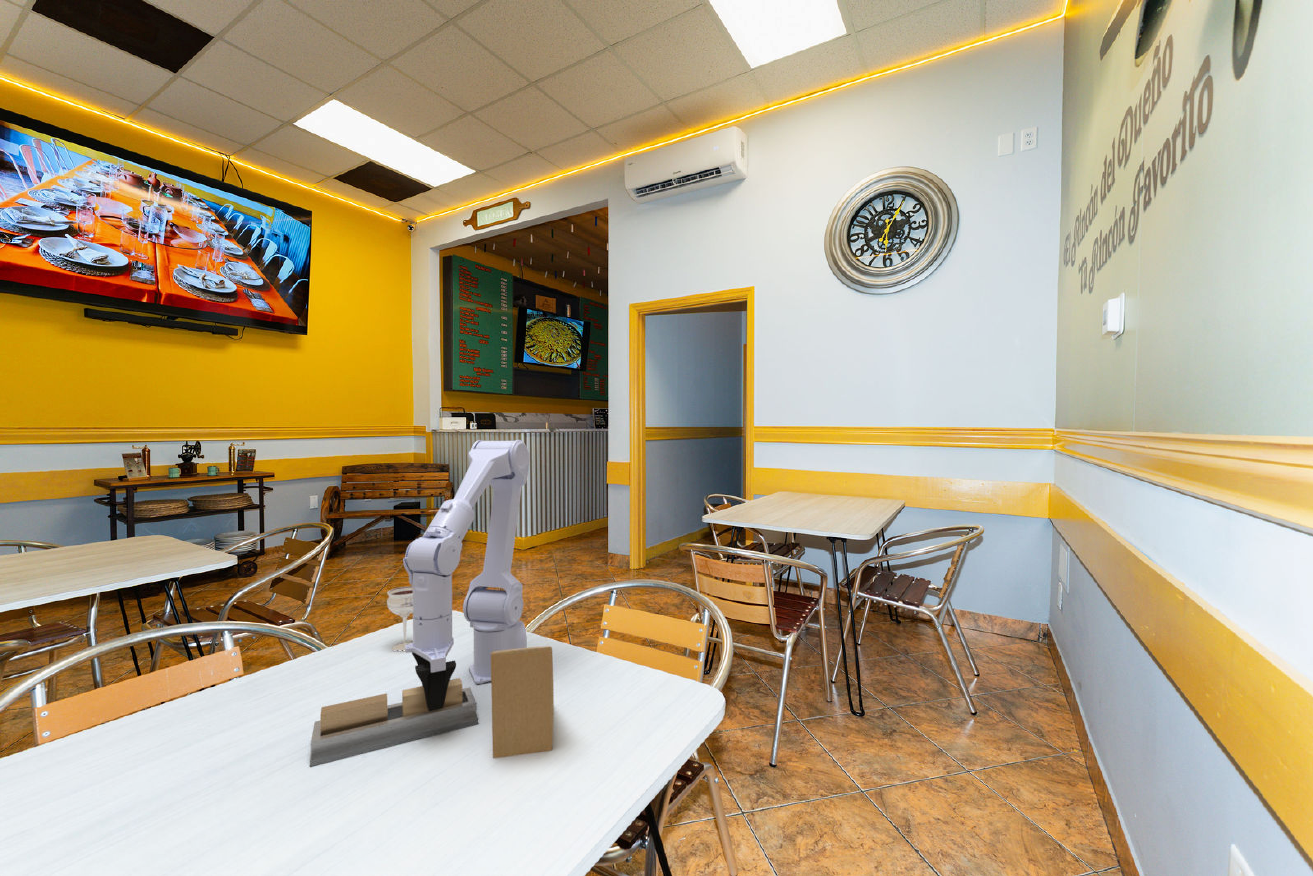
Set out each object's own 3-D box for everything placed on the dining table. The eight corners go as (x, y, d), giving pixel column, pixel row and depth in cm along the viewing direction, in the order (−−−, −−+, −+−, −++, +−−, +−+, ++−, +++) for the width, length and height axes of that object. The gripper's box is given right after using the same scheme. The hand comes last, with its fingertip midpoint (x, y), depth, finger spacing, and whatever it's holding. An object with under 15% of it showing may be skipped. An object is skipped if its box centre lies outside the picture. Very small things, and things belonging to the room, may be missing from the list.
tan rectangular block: (460, 705, 87) (459, 678, 87) (462, 712, 85) (462, 684, 85) (402, 719, 83) (402, 690, 83) (403, 726, 81) (403, 696, 81)
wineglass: (379, 652, 111) (379, 594, 111) (400, 640, 118) (400, 585, 118) (409, 654, 110) (409, 596, 110) (428, 641, 116) (428, 586, 116)
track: (468, 699, 91) (468, 668, 91) (478, 723, 83) (478, 689, 83) (315, 734, 80) (315, 699, 80) (310, 766, 72) (309, 727, 72)
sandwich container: (552, 700, 91) (551, 611, 91) (554, 751, 76) (553, 646, 76) (499, 705, 89) (498, 615, 89) (491, 759, 74) (490, 651, 74)
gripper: (401, 605, 88) (402, 687, 88) (408, 633, 76) (408, 728, 76) (447, 598, 92) (447, 677, 92) (460, 624, 79) (461, 716, 79)
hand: (433, 700), depth 84 cm, fingers open, 6 cm apart
